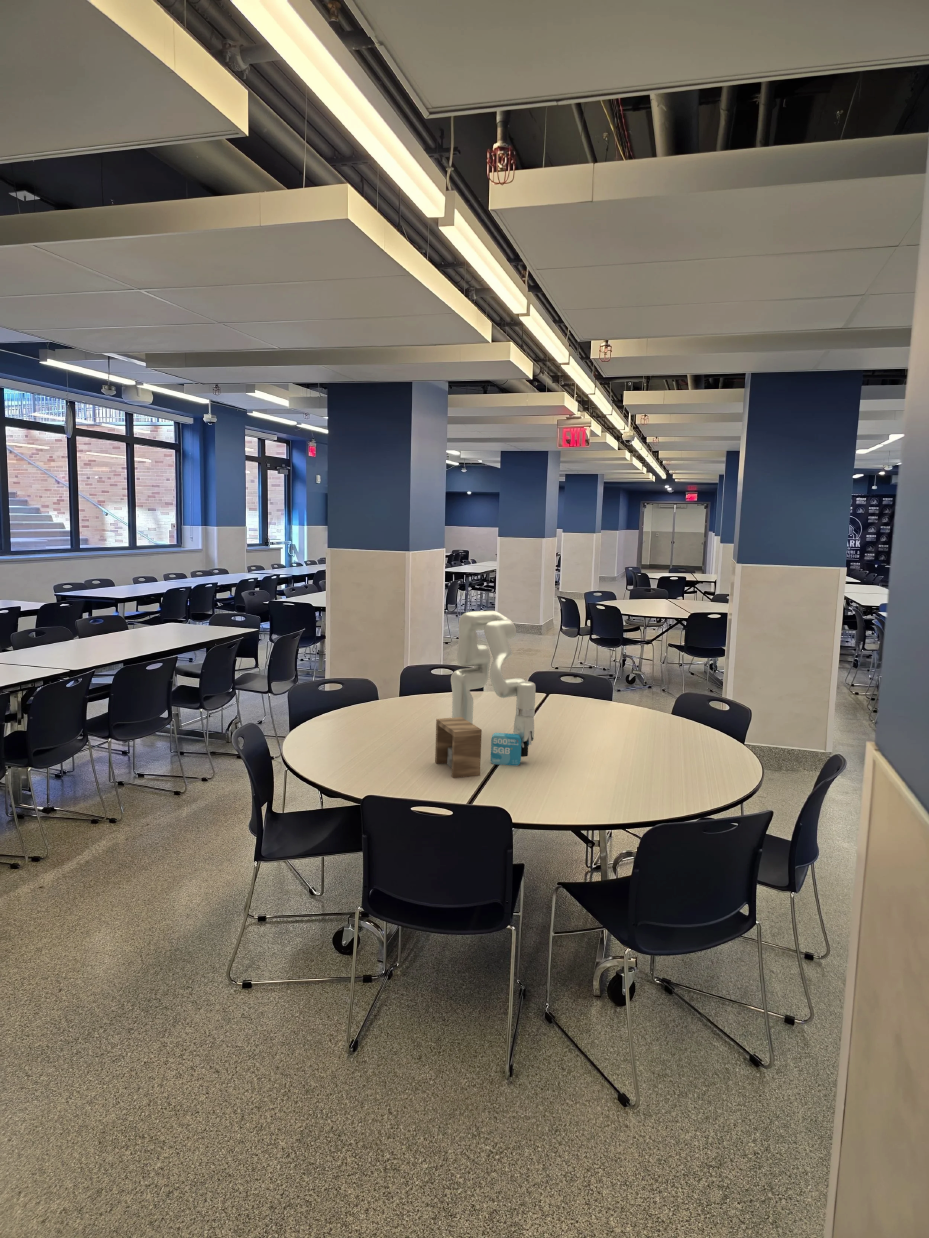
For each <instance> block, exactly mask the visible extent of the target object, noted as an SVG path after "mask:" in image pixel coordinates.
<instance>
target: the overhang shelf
mask: <svg viewBox="0 0 929 1238" xmlns="http://www.w3.org/2000/svg"><path fill="white" fill-rule="evenodd" d="M482 733H483V731H482V729H481V727H478V726H476V725H475V724H474V723H473V724H472V723H470V722H469V721H467V720H466V719H464V718H462V717H455V718H452V717H442V718H436V721H435V749H434V750H435V751H434V753H435V754H434V756H435V757H434V763H435V764H437V765H439V764H441V765H442V764H447V766H448V767H450V769H451V778H453V779H459V778H467V777H468V778H469V777H475V776H476V777H477V776H481V761H482V760H481V757H482Z"/></svg>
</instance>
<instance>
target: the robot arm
mask: <svg viewBox="0 0 929 1238" xmlns="http://www.w3.org/2000/svg"><path fill="white" fill-rule="evenodd" d="M477 631H483V632H484V635H485V638H486V639H485V640H486V641H487V645H488V646H487V645H485V644H478V643H479V636H478V633H477ZM458 635H459V636H458V641H457V644H458V645H457V650H456V662H457V664H458V666H460V667H462V668H460V669H457V670H454V671H453V672H452V674H451V676H450V685H451V692H452V693H451V694H452V698H451V699H452V700H451V701H452V702H451V703H452V704H451V706H452V707H451V709H452V710H451V718H455V717H462V718H464V719H466V720H467V721H469V722H470V723H472V724H474V697H473V695H472V693H471V690H476V689H481V688H484V687H485V686H486V685H487V683H488V682H489V681H488V680H489V678H490V682H491V685H492V688H493V690H494V691H493V692H494V693H495V694H496V696H497V697H499V698H501V699H502V698H503V699H504V698H505V699H506V698H507V699H508V698H513V697H514V698H515V697H516V702H515V703H516V704H515V705H516V706H515V717H514V723H513V733H512V734H519V735H520V737H521V741H522V745H521V758H524V757H528V756H529V746H532V743H533V741H534V740H535V711H536V710H535V709H536V708H535V705H536V683H534V682H532V681H527V680H525V679H524V678H523V677H513V678H512V677H511V678H504V675H503V672H502V665H503V663H504V662H505V661H506V660H508V659H510V658H511V657H512V656H513V650H512V647H511V645H510V644H511V643H510V641H509V640H512V639H514V638H515V636H516V635H517V628H516V625H515V624H514V622H513V621H512V620H511V619H510V618H509V617H506V616H505V615H503V614H502V613H500V612H498V611H496V610H475V611H474V610H471V611H468V612H464V613H463V614H462V615H461V616H460V617H459V620H458ZM491 656H492V662H491ZM463 667H464V668H463ZM469 667H471V668H469Z"/></svg>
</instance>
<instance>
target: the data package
mask: <svg viewBox="0 0 929 1238" xmlns="http://www.w3.org/2000/svg"><path fill="white" fill-rule="evenodd" d="M521 745H522V741H521V737H520V735H519V734H513V733H506V732H494V733H493V734H492V736H491V738H490V763H491V764H492V765H502V766H504V765H505V766H519V765H520V764H521V761H522V757H521Z"/></svg>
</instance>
